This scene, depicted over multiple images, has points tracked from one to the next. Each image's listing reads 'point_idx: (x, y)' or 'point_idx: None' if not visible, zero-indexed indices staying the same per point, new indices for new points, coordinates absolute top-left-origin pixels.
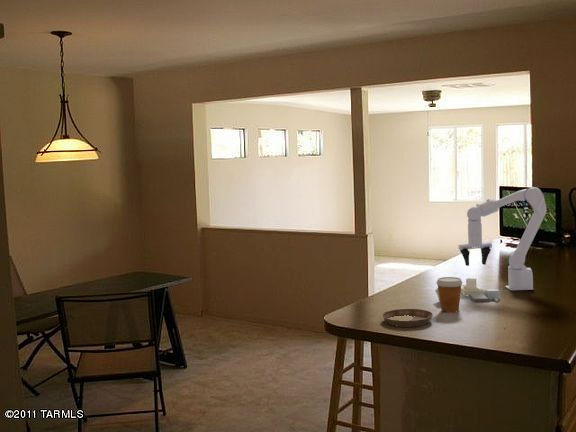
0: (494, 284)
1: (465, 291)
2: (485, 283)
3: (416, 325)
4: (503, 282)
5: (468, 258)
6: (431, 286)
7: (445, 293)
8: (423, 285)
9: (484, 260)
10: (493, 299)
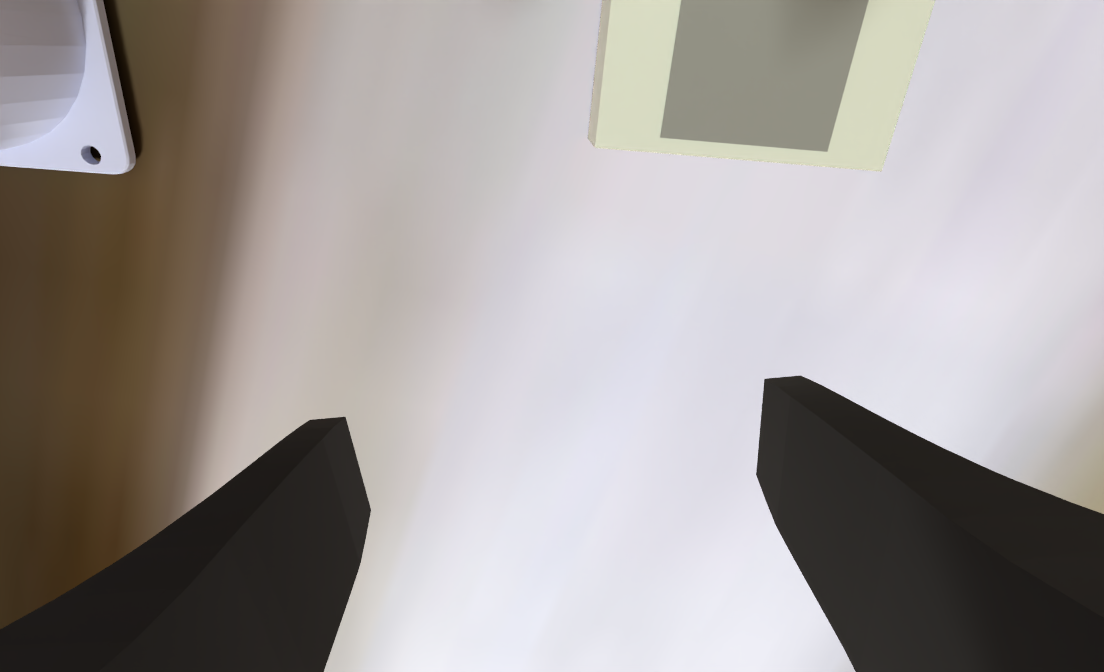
0: (266, 367)
1: None
2: (364, 440)
3: None
4: (135, 446)
5: (916, 472)
6: (1014, 421)
7: None
8: (1056, 483)
9: (298, 481)
10: None
